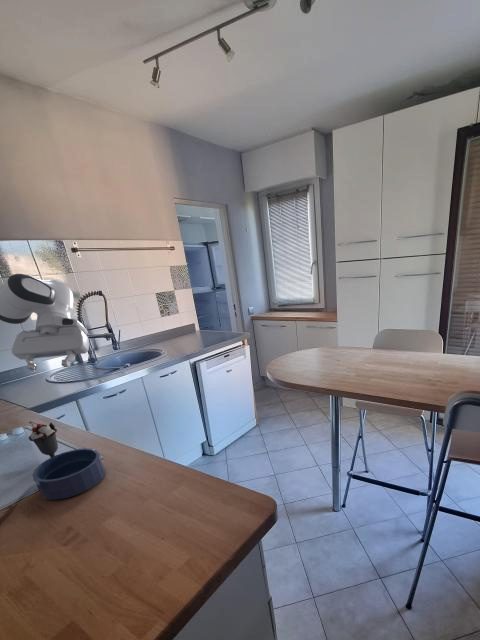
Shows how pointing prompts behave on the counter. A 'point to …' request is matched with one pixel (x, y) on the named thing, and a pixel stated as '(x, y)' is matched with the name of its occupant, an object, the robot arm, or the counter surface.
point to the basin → (69, 473)
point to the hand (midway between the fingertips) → (48, 367)
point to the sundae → (45, 438)
